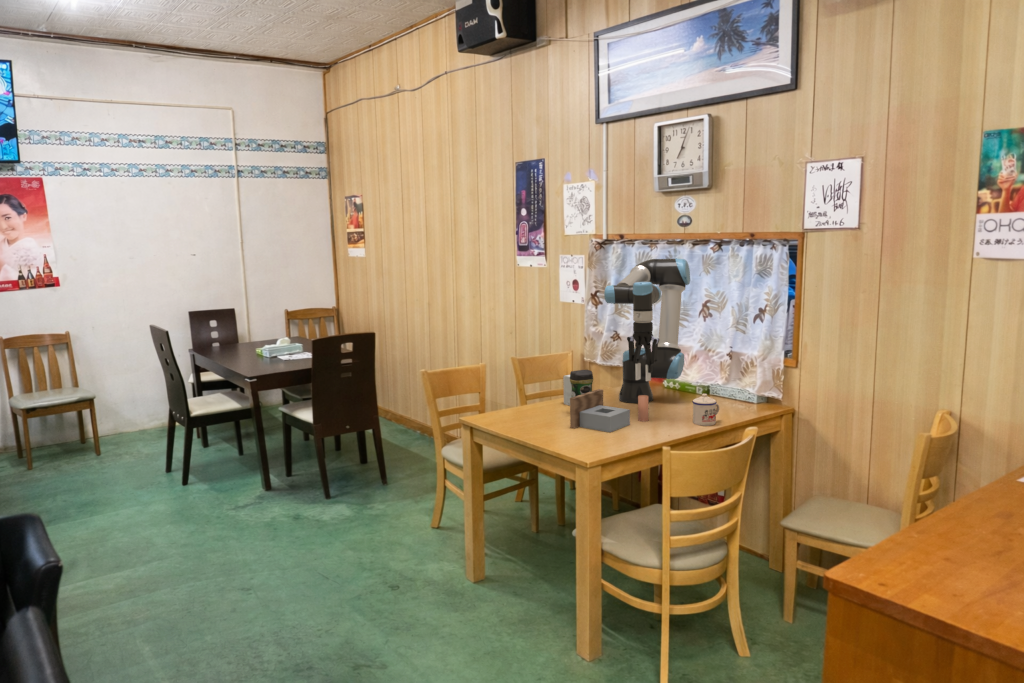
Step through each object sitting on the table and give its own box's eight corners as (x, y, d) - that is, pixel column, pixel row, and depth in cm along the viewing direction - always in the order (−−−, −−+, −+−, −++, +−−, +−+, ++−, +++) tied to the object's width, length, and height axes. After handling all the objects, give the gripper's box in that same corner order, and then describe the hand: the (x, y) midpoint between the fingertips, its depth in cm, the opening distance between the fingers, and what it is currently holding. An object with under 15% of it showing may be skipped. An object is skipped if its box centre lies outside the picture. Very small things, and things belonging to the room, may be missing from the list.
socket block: (599, 419, 290) (599, 405, 289) (629, 424, 281) (629, 409, 280) (579, 427, 279) (579, 411, 279) (610, 432, 270) (610, 416, 270)
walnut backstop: (599, 417, 294) (599, 389, 292) (603, 418, 292) (603, 389, 291) (570, 428, 279) (569, 398, 277) (574, 429, 277) (574, 398, 276)
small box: (572, 406, 315) (571, 377, 313) (563, 404, 320) (562, 375, 319) (586, 403, 319) (586, 375, 318) (577, 401, 325) (577, 373, 323)
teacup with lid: (703, 427, 274) (703, 397, 273) (687, 422, 282) (687, 393, 281) (727, 423, 280) (727, 393, 278) (710, 418, 288) (710, 389, 286)
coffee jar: (588, 410, 307) (587, 367, 304) (596, 414, 300) (596, 370, 297) (567, 412, 304) (566, 369, 301) (575, 417, 296) (574, 372, 294)
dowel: (641, 418, 290) (641, 394, 289) (650, 420, 287) (650, 395, 286) (636, 421, 287) (636, 396, 286) (645, 422, 284) (645, 397, 283)
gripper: (619, 321, 284) (619, 379, 288) (657, 323, 273) (657, 384, 277) (629, 319, 290) (629, 376, 293) (667, 321, 279) (666, 380, 282)
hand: (643, 379), depth 285 cm, fingers open, 4 cm apart
